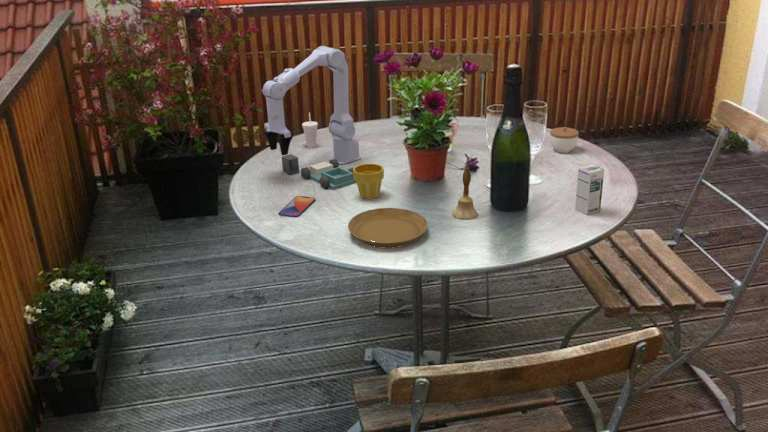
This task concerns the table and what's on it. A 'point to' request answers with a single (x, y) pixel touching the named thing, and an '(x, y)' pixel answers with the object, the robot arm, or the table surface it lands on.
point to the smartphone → (297, 206)
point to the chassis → (329, 174)
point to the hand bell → (465, 200)
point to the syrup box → (589, 189)
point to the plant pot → (368, 179)
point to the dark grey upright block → (290, 164)
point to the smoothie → (310, 132)
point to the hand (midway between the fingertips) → (279, 152)
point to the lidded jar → (563, 139)
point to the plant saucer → (387, 227)
